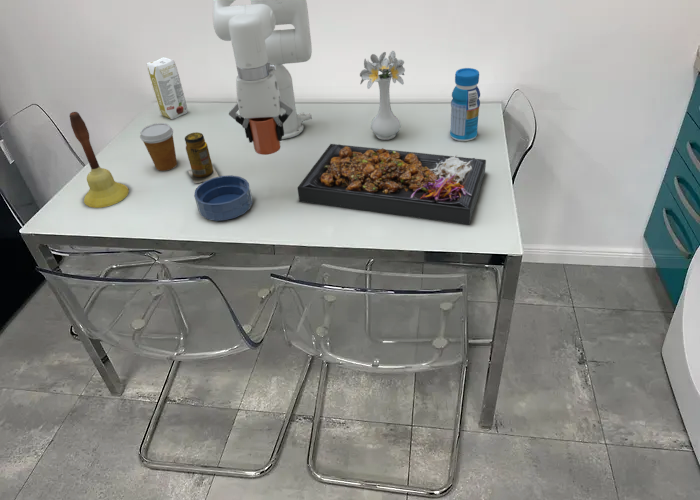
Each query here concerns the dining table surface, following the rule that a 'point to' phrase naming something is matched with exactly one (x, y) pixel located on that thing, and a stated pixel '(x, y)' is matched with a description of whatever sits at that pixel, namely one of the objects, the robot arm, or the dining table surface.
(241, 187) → the bowl
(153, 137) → the disposable coffee cup
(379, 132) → the flower vase
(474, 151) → the dining table surface
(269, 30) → the robot arm
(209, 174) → the condiment
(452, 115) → the beverage bottle
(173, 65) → the juice carton
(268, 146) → the cup
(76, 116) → the handbell
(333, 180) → the food platter
